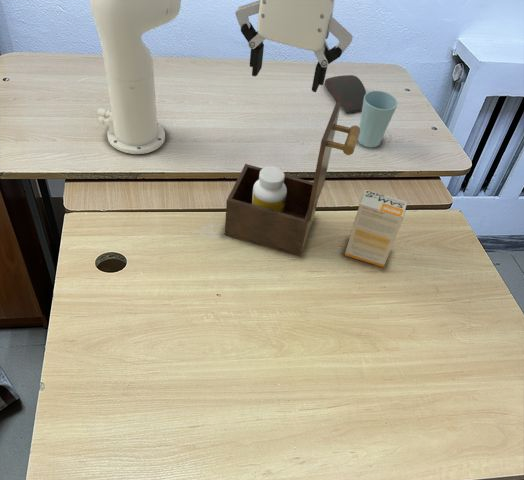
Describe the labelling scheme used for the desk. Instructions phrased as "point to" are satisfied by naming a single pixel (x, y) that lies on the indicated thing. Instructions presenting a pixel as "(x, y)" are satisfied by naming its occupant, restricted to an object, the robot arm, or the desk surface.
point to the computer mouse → (347, 92)
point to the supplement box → (375, 227)
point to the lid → (325, 154)
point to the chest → (269, 214)
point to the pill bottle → (270, 189)
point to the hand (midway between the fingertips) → (286, 79)
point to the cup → (375, 117)
